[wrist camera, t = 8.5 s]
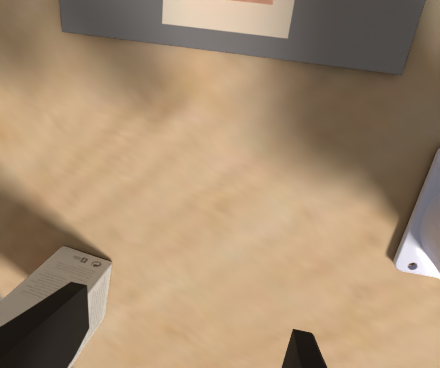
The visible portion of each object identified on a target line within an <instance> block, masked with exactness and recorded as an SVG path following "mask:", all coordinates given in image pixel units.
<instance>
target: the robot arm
mask: <svg viewBox="0 0 440 368" xmlns="http://www.w3.org/2000/svg"><path fill="white" fill-rule="evenodd" d="M393 263H394V265H395V267H396V268H397V269H398V270H400V271H404V272H409V273H415V274H420V275H425V276H430V277H435V278H440V148H439V149H438V151H437V152H436V155H435V157H434V160H433V162H432V165H431V167H430V170H429V172H428V175H427V177H426V180H425V182H424V185H423V187H422V190H421V192H420V195H419V197H418V200H417V202H416V205H415V207H414V210H413V212H412V215H411V217H410V220H409V222H408V225H407V227H406V230H405V232H404V235H403V237H402V240H401V242H400V245H399V247H398V250H397V252H396V255H395V257H394V260H393ZM410 263H415V264H414V265H412V266H408V265H409V264H410ZM88 330H89V310H88V291H87V285H84V284H80V283H75V282H70V283H68V284H66V285H65V286H63V287H62V288H60V289H59V290H57V291H56V292H54V293H52V294H51V295H49V296H48V297H46V298H45V299H43V300H42V301H40V302H39V303H37V304H36V305H34V306H32V307H31V308H29V309H28V310H26V311H25V312H23V313H21V314H20V315H18V316H17V317H15V318H14V319H12V320H10V321H9V322H7V323H6V324H4V325H2V326H0V368H68V366H69V365H70V363H71V362H72V360H73V358H74V357H75V355H76V353H77V351H78V349H79V348H80V346H81V344H82V342H83V340H84V338H85V336H86V334H87V332H88ZM282 368H327V366H326V364H325V361H324V359H323V357H322V354H321V352H320V350H319V347H318V345H317V342H316V340H315V337H314V335H313V334H312V333H310V332H305V331H301V330H296V329H293V331H292V334H291V338H290V341H289V344H288V348H287V351H286V355H285V358H284V362H283V365H282Z"/></svg>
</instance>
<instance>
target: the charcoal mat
mask: <svg viewBox="0 0 440 368" xmlns="http://www.w3.org/2000/svg"><path fill="white" fill-rule="evenodd" d="M425 1H426V0H273V5H269V4H259V3H250V2H241V1H232V0H60V11H61V25H62V32H68V33H76V34H84V35H92V36H99V37H107V38H115V39H123V40H131V41H139V42H147V43H154V44H162V45H170V46H178V47H186V48H194V49H202V50H209V51H217V52H225V53H233V54H241V55H249V56H256V57H264V58H272V59H280V60H288V61H296V62H304V63H311V64H319V65H327V66H335V67H343V68H351V69H359V70H366V71H374V72H382V73H390V74H398V75H402V72H403V69H404V66H405V63H406V60H407V57H408V54H409V51H410V47H411V44H412V41H413V38H414V35H415V32H416V29H417V26H418V23H419V20H420V17H421V13H422V10H423V7H424V4H425Z"/></svg>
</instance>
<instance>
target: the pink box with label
mask: <svg viewBox="0 0 440 368" xmlns="http://www.w3.org/2000/svg"><path fill="white" fill-rule="evenodd" d="M232 1H241V2H250V3H259V4H269V5H273V0H232Z"/></svg>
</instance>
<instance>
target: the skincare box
mask: <svg viewBox="0 0 440 368" xmlns="http://www.w3.org/2000/svg"><path fill="white" fill-rule="evenodd" d="M111 269H112V262H110V261H107V260H104V259H101V258H98V257H95V256H92V255H89V254H86V253H83V252H80V251H77V250H75V249H72V248H69V247H66V246H62V247H61V248H60V249H58V250H57V251H56V252H55V253H54V254H53V255H52V256H50V257H49V258H48V259H47V260H46V261H45V262H44V263H43V264H42V265H41V266H40V267H38V268H37V269H36V270H35V271H34V272H33V273H32V274H31V275H29V276H28V277H27V278H26V279H25V280H24V281H23V282H22V283H21V284H19V285H18V286H17V287H16V288H15V289H14V290H13V291H12V292H10V293H9V294H8V295H7V296H6V297H5V298H4V299H3V300H2V301H0V326H2V325H4V324H6V323H7V322H9V321H10V320H12V319H14V318H15V317H17V316H18V315H20V314H21V313H23V312H25V311H26V310H28V309H29V308H31V307H32V306H34V305H36V304H37V303H39V302H40V301H42V300H43V299H45V298H46V297H48V296H49V295H51V294H52V293H54V292H56V291H57V290H59V289H60V288H62V287H63V286H65V285H66V284H68V283H70V282H75V283H80V284H84V285H87V291H88V310H89V330H88V332H87V334H86V336H85V338H84V340H83V342H82V344H81V346H80V348H79V349H78V351H77V353H76V355H75V357H74V358H73V360H72V362H71V363H70V365H69V366H68V368H71V366H72V365H73V363H74V362H75V360H76V359H77V357H78V356H79V354H80V353H81V351H82V350H83V348H84V347H85V345H86V344H87V342H88V341H89V339H90V338H91V336H92V335H93V333H94V332H95V330H96V329H97V327H98V326H99V324H100V323H101V321H102V320H103V318H104V317H105V311H106V304H107V297H108V290H109V282H110V276H111Z"/></svg>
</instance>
